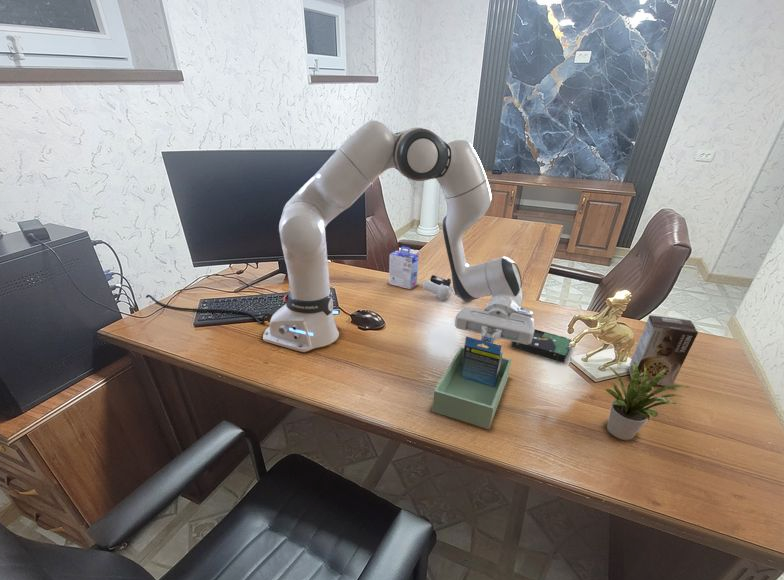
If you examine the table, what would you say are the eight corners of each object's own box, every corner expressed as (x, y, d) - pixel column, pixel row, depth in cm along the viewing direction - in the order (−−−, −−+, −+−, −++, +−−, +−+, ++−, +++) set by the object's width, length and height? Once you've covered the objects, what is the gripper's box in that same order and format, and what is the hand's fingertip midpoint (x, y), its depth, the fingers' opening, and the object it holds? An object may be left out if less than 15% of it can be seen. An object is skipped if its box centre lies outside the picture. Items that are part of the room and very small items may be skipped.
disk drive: (510, 349, 112) (564, 364, 106) (512, 340, 111) (567, 355, 104) (520, 333, 120) (571, 346, 113) (522, 325, 118) (574, 338, 112)
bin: (489, 429, 85) (493, 408, 82) (432, 411, 90) (434, 390, 86) (507, 379, 100) (511, 359, 97) (458, 365, 105) (460, 346, 102)
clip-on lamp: (473, 302, 144) (430, 282, 149) (479, 286, 141) (435, 267, 145) (463, 312, 135) (418, 291, 140) (470, 296, 131) (423, 275, 136)
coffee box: (665, 373, 103) (692, 319, 94) (671, 388, 97) (700, 332, 89) (626, 366, 105) (649, 313, 96) (631, 380, 100) (655, 326, 91)
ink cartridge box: (417, 285, 150) (419, 248, 142) (411, 290, 146) (412, 252, 138) (395, 279, 154) (396, 243, 146) (388, 284, 150) (388, 247, 142)
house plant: (680, 454, 79) (719, 392, 70) (622, 465, 77) (653, 402, 68) (630, 408, 91) (657, 350, 82) (577, 416, 88) (599, 357, 80)
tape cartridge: (498, 379, 99) (506, 338, 92) (494, 388, 96) (502, 346, 89) (464, 369, 103) (470, 329, 96) (459, 377, 100) (465, 336, 93)
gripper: (463, 298, 109) (448, 319, 99) (539, 313, 102) (531, 338, 91) (461, 317, 113) (446, 340, 102) (534, 334, 105) (526, 360, 95)
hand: (487, 339), depth 97 cm, fingers closed
